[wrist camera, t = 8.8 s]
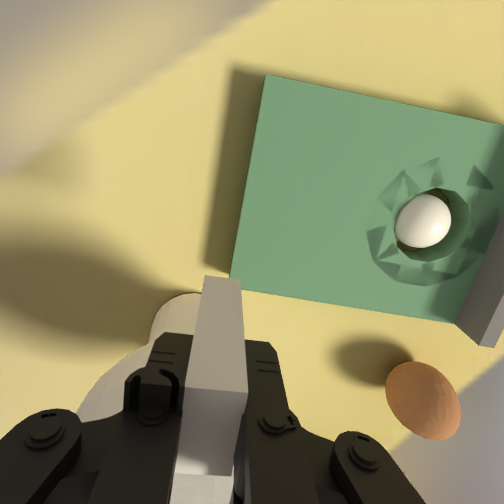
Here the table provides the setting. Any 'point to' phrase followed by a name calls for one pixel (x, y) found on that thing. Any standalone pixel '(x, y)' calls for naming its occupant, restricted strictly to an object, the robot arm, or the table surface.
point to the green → (372, 207)
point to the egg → (423, 400)
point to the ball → (423, 221)
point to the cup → (112, 395)
